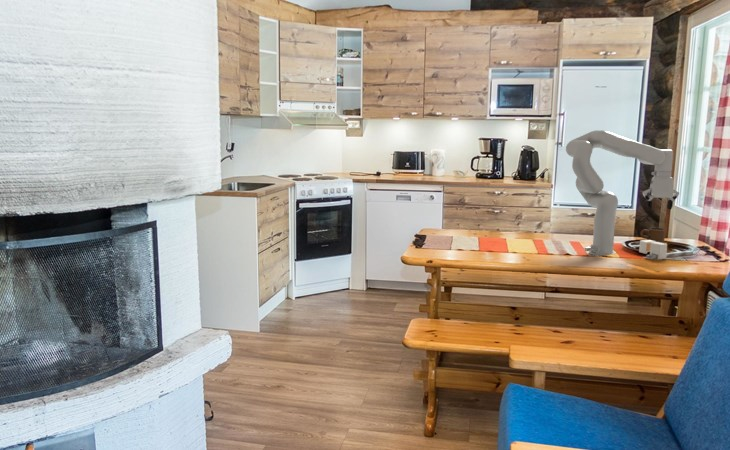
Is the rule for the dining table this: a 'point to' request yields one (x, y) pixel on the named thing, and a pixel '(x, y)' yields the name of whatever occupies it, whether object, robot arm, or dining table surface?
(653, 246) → the white block
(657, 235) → the mug
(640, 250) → the white and orange block
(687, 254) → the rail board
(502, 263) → the dining table surface
